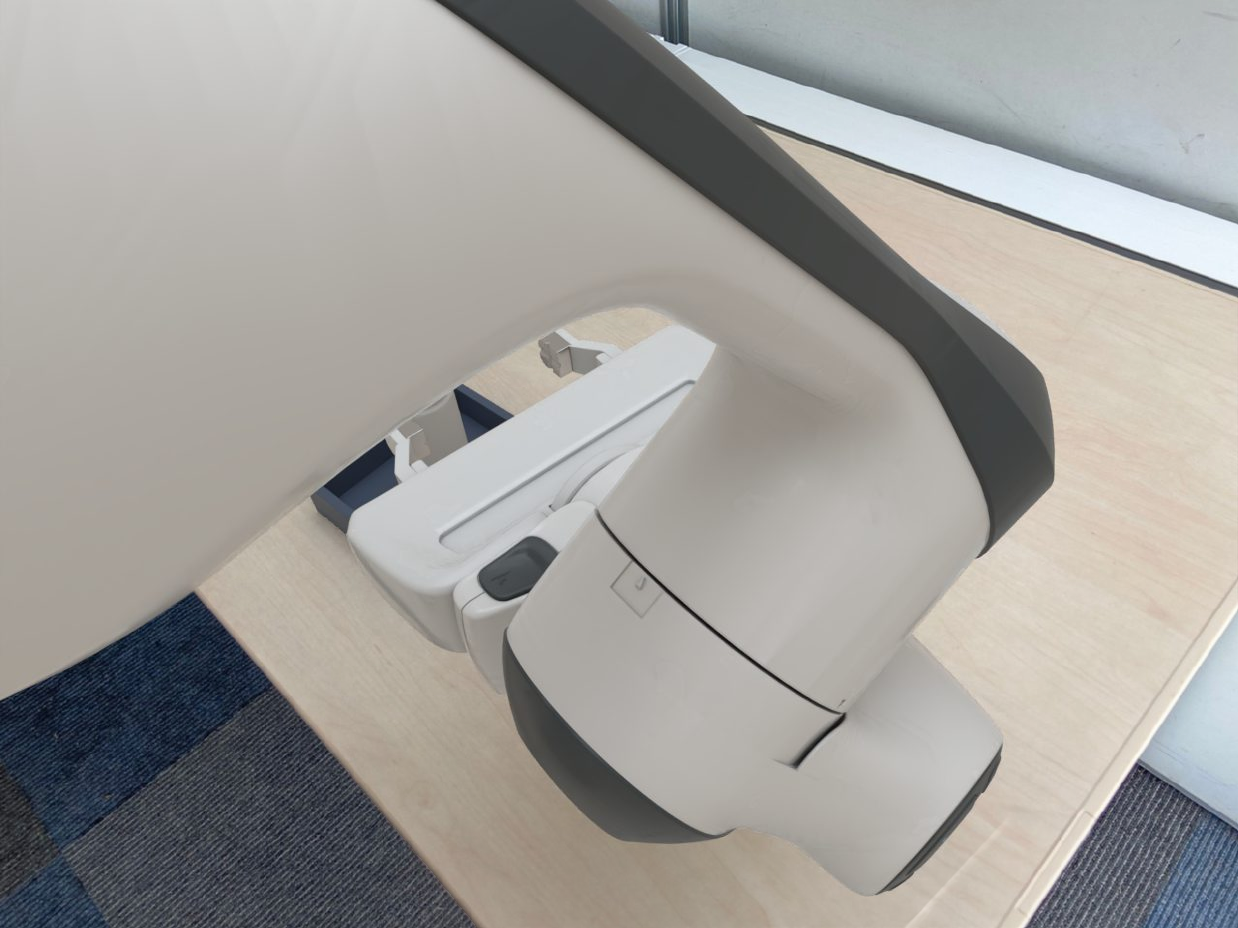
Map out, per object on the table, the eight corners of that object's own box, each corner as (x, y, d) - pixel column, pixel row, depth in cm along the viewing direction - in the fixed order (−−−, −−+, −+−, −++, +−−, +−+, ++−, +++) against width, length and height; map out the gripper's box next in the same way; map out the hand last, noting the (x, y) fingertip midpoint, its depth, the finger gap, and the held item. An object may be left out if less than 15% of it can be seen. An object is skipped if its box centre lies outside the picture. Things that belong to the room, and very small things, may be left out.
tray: (442, 612, 68) (431, 584, 66) (317, 511, 76) (303, 482, 73) (584, 485, 76) (580, 455, 73) (457, 404, 83) (449, 375, 81)
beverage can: (441, 526, 73) (405, 420, 64) (411, 492, 76) (371, 385, 67) (492, 494, 75) (463, 387, 66) (460, 462, 78) (428, 354, 69)
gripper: (821, 379, 42) (628, 250, 49) (434, 640, 34) (276, 439, 42) (809, 471, 46) (635, 340, 54) (467, 719, 39) (320, 525, 46)
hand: (476, 384), depth 48 cm, fingers open, 8 cm apart
